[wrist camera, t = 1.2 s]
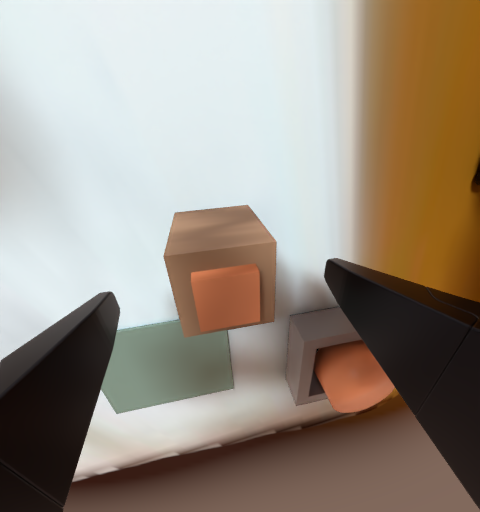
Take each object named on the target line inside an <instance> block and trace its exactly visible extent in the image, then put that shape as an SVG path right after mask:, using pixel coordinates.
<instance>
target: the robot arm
mask: <svg viewBox="0 0 480 512" xmlns="http://www.w3.org/2000/svg"><path fill="white" fill-rule="evenodd" d="M476 184H477V185H480V171H479V173H478V175H477V177H476ZM324 278H325V281H326V283H327V284H328V286H329V288H330V290H331V292H332V294H333V296H334V297H335V299H336V301H337V303H338V305H339V306H340V308H341V310H342V311H343V313H344V314H345V315H346V317H347V318H348V320H349V321H350V323H351V324H352V326H353V327H354V328H355V330H356V331H357V333H358V334H359V336H360V337H361V339H362V340H363V342H364V343H365V344H366V346H367V347H368V349H369V350H370V352H371V353H372V355H373V356H374V357H375V359H376V360H377V362H378V363H379V365H380V366H381V368H382V369H383V370H384V372H385V373H386V375H387V376H388V378H389V379H390V381H391V382H392V383H393V385H394V386H395V388H396V389H397V391H398V392H399V394H400V395H401V396H402V398H403V399H404V401H405V402H406V404H407V405H408V407H409V408H410V409H411V410H412V412H413V414H414V415H416V416H415V417H416V418H417V420H418V421H419V423H420V424H421V426H422V427H423V428H424V430H425V431H426V433H427V434H428V436H429V437H430V439H431V440H432V442H433V443H434V444H435V446H436V447H437V449H438V450H439V452H440V453H441V455H442V456H443V457H444V459H445V460H446V462H447V463H448V465H449V466H450V467H451V469H452V470H453V472H454V473H455V475H456V476H457V478H458V479H459V480H460V482H461V484H462V485H463V486H464V488H465V489H466V491H467V492H468V494H469V495H470V496H471V498H472V499H473V501H474V502H475V504H476V505H477V506H478V508H479V509H480V303H479V302H476V301H472V300H469V299H465V298H462V297H458V296H455V295H452V294H448V293H445V292H442V291H439V290H435V289H432V288H429V287H425V286H423V285H420V284H416V283H413V282H410V281H407V280H404V279H401V278H398V277H395V276H391V275H388V274H385V273H382V272H379V271H376V270H373V269H369V268H366V267H363V266H360V265H357V264H354V263H351V262H348V261H344V260H341V259H338V258H333V259H328V260H327V262H326V267H325V273H324ZM119 315H120V308H119V305H118V303H117V300H116V298H115V296H114V294H113V293H112V292H103V293H99V294H98V295H96V296H95V297H93V298H92V299H90V300H89V301H87V302H86V303H84V304H83V305H82V306H80V307H79V308H77V309H76V310H74V311H73V312H71V313H70V314H68V315H67V316H65V317H64V318H62V319H61V320H59V321H58V322H57V323H55V324H54V325H52V326H51V327H49V328H48V329H46V330H45V331H43V332H42V333H40V334H39V335H37V336H36V337H34V338H33V339H32V340H30V341H29V342H27V343H26V344H24V345H23V346H21V347H20V348H18V349H17V350H15V351H14V352H12V353H11V354H9V355H8V356H7V357H5V358H4V359H2V360H1V362H0V512H63V507H64V505H65V502H66V499H67V496H68V493H69V490H70V486H71V483H72V480H73V477H74V473H75V470H76V467H77V464H78V461H79V457H80V454H81V451H82V448H83V445H84V441H85V438H86V435H87V432H88V428H89V425H90V422H91V419H92V416H93V412H94V409H95V406H96V403H97V399H98V396H99V393H100V390H101V387H102V383H103V380H104V377H105V374H106V371H107V367H108V364H109V361H110V358H111V354H112V351H113V347H114V343H115V337H116V332H117V326H118V321H119Z"/></svg>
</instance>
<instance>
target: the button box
mask: <svg viewBox="0 0 480 512" xmlns="http://www.w3.org/2000/svg"><path fill="white" fill-rule="evenodd" d="M357 340H362V339H361V337H360V336H359V334H358V333H357V331H356V330H355V328H354V327H353V326H352V324H351V323H350V321H349V320H348V318H347V317H346V315H345V314H344V313H343V311H342V310H341V308H340V307H336V308H330V309H325V310H319V311H314V312H308V313H302V314H297V315H291V316H290V326H289V340H288V353H287V366H286V380H287V383H288V386H289V388H290V391H291V394H292V396H293V399H294V402H295V404H296V406H298V405H302V404H307V403H311V402H315V401H319V400H324V399H328V397H327V395H326V393H325V391H324V389H323V387H322V385H321V383H320V381H319V379H318V378H317V376H316V374H315V372H314V370H313V366H314V360H315V354H316V349H318V348H323V347H328V346H333V345H337V344H342V343H347V342H352V341H357Z"/></svg>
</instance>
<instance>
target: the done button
mask: <svg viewBox="0 0 480 512" xmlns="http://www.w3.org/2000/svg"><path fill="white" fill-rule="evenodd" d="M313 370H314V372H315V374H316V376H317V378H318V379H319V381H320V383H321V385H322V387H323V389H324V391H325V393H326V395H327V397H328V399H329V401H330V403H331V405H332V407H333V408H334V409H335V410H336V411H338V412H342V413H351V412H357V411H360V410H363V409H366V408H369V407H371V406H373V405H375V404H377V403H378V402H380V401H381V400H383V399H384V398H385V397H387V396H388V395H389V394H390V393H391V392H392V391H393V389H394V388H395V386H394V385H393V383H392V382H391V381H390V379H389V378H388V376H387V375H386V373H385V372H384V370H383V369H382V368H381V366H380V365H379V363H378V362H377V360H376V359H375V357H374V356H373V355H372V353H371V352H370V350H369V349H368V347H367V346H366V344H365V343H364V342H363V340H357V341H352V342H347V343H342V344H337V345H333V346H328V347H323V348H320V349H319V350H318V351H317V353H316V354H315V360H314V366H313Z"/></svg>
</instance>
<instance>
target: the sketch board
mask: <svg viewBox="0 0 480 512" xmlns="http://www.w3.org/2000/svg"><path fill="white" fill-rule="evenodd" d="M233 388H234V387H233V378H232V370H231V361H230V353H229V345H228V336H227V330H225V331H219V332H214V333H208V334H202V335H197V336H191V337H186V338H184V334H183V330H182V327H181V323H180V320H175V321H169V322H163V323H157V324H151V325H146V326H140V327H134V328H128V329H122V330H117V332H116V337H115V343H114V347H113V351H112V354H111V358H110V361H109V364H108V367H107V371H106V374H105V377H104V380H103V383H102V387H101V390H102V391H103V393H104V395H105V396H106V398H107V399H108V401H109V403H110V404H111V406H112V407H113V409H114V411H115V412H116V414H119V413H123V412H128V411H132V410H137V409H142V408H146V407H151V406H155V405H160V404H165V403H169V402H174V401H178V400H183V399H188V398H192V397H197V396H201V395H206V394H211V393H215V392H220V391H224V390H229V389H233Z"/></svg>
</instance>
